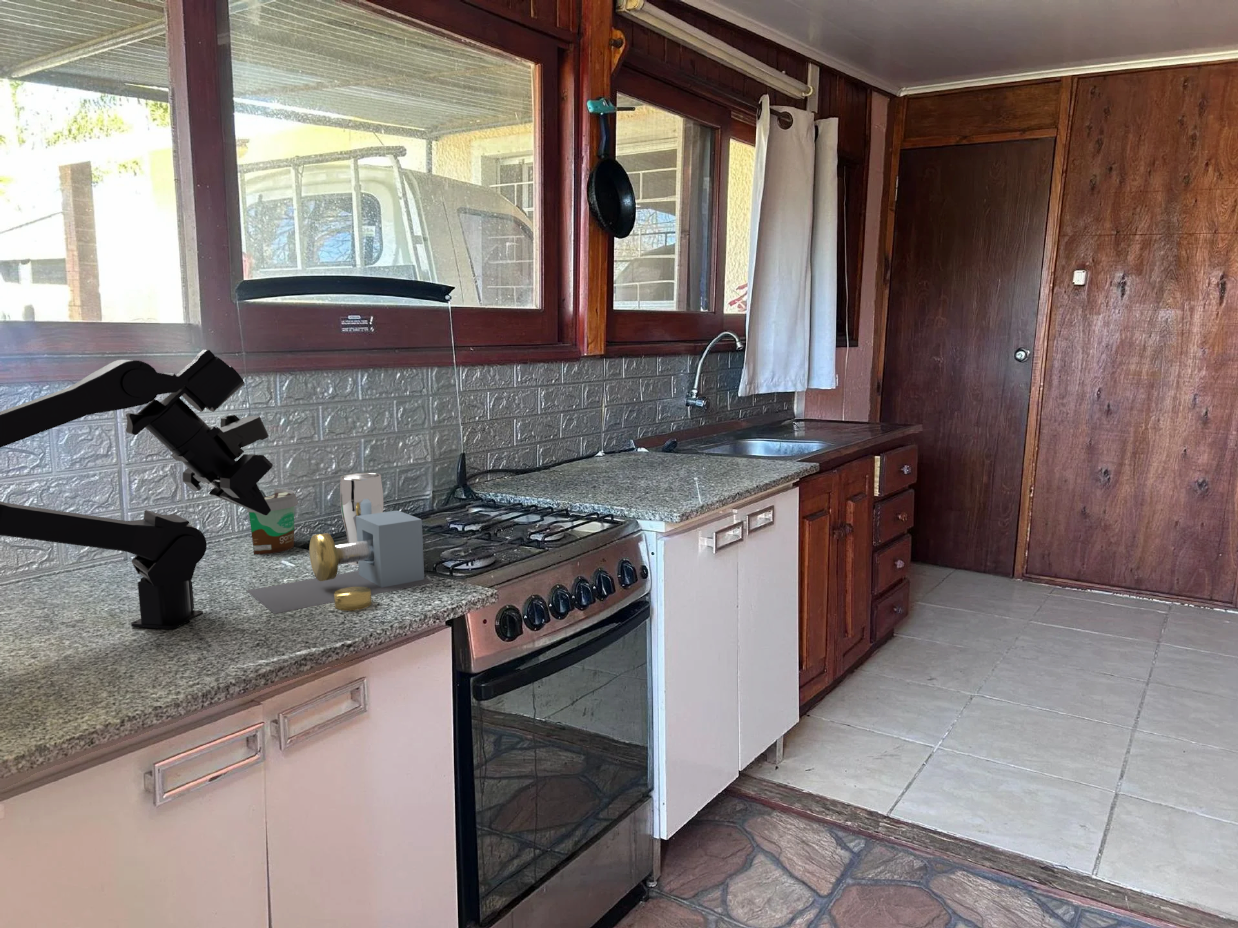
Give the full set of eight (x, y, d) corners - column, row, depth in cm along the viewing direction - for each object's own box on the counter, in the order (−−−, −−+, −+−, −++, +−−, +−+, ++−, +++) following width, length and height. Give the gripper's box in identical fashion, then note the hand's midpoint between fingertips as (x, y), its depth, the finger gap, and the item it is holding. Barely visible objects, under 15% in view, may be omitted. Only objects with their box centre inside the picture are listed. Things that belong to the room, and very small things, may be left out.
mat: (274, 616, 120) (274, 613, 120) (246, 592, 131) (245, 590, 131) (433, 584, 134) (433, 582, 134) (396, 566, 145) (396, 563, 145)
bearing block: (381, 587, 132) (378, 525, 130) (359, 574, 139) (355, 516, 137) (424, 579, 136) (421, 519, 135) (400, 567, 143) (397, 510, 142)
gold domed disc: (361, 615, 121) (360, 597, 120) (328, 613, 122) (327, 596, 121) (377, 604, 126) (377, 587, 125) (345, 602, 126) (345, 585, 126)
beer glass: (392, 557, 151) (388, 472, 149) (377, 568, 144) (373, 479, 142) (353, 557, 152) (349, 472, 149) (336, 567, 145) (331, 479, 142)
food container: (285, 556, 152) (281, 500, 151) (250, 556, 152) (246, 500, 151) (311, 540, 164) (308, 488, 163) (278, 540, 164) (275, 488, 163)
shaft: (327, 585, 128) (324, 539, 127) (311, 575, 133) (308, 531, 132) (421, 568, 137) (419, 525, 136) (402, 559, 142) (400, 517, 141)
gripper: (257, 394, 114) (335, 475, 122) (205, 396, 127) (279, 470, 136) (194, 454, 109) (280, 535, 117) (147, 449, 122) (227, 523, 130)
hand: (267, 512), depth 125 cm, fingers closed
